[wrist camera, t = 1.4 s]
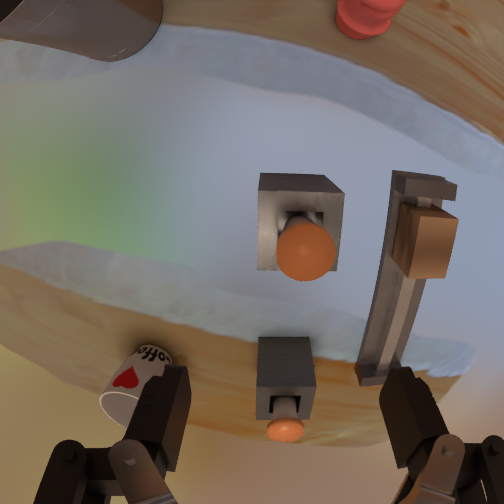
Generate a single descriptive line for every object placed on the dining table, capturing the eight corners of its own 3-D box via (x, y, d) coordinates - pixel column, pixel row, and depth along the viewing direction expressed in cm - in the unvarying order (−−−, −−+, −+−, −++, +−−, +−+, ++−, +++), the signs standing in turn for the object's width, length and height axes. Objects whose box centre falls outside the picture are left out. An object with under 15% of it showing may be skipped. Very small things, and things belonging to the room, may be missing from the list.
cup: (190, 352, 37) (173, 412, 28) (174, 386, 40) (157, 441, 31) (133, 326, 36) (102, 381, 27) (122, 363, 39) (97, 414, 30)
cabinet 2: (258, 337, 35) (256, 386, 28) (312, 337, 35) (320, 386, 28) (258, 371, 38) (255, 419, 30) (306, 371, 38) (312, 419, 30)
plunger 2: (275, 206, 21) (277, 225, 17) (325, 207, 21) (338, 226, 17) (274, 253, 23) (275, 280, 19) (321, 254, 23) (332, 281, 19)
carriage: (400, 202, 27) (420, 216, 23) (436, 206, 27) (458, 219, 23) (391, 258, 29) (408, 278, 25) (426, 259, 29) (444, 278, 25)
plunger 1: (268, 391, 29) (267, 423, 25) (303, 391, 29) (306, 423, 25) (267, 411, 30) (266, 441, 26) (299, 411, 30) (301, 441, 26)
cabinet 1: (260, 172, 28) (258, 190, 20) (328, 175, 28) (350, 193, 20) (259, 233, 30) (257, 270, 23) (323, 234, 30) (341, 271, 23)
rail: (392, 170, 27) (406, 176, 24) (440, 176, 27) (457, 183, 24) (354, 369, 37) (359, 387, 34) (393, 366, 37) (400, 383, 34)
